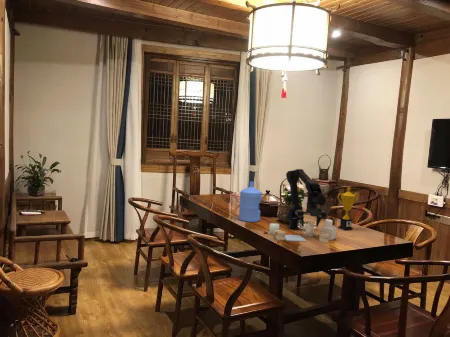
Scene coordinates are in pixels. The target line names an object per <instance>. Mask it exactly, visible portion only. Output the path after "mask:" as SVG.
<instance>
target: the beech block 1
mask: <svg viewBox="0 0 450 337" xmlns="http://www.w3.org/2000/svg"><path fill="white" fill-rule="evenodd" d="M285 235H286V232H285V231H284V230H281V229H279V230H274V234H273V235H272V236H273V237H272V238H273V240H276V241H277V242H279V241H286V239H285Z"/></svg>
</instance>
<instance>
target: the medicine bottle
mask: <svg viewBox="0 0 450 337" xmlns="http://www.w3.org/2000/svg"><path fill="white" fill-rule="evenodd" d="M335 223H336V222H335V220H334V219H333V218H326V219H324V225H323V226H321V231H320V232H323V233H328V234H329V241H332V240H335V239H337V232H338V231H337V228H338V227H336V226H335Z"/></svg>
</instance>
